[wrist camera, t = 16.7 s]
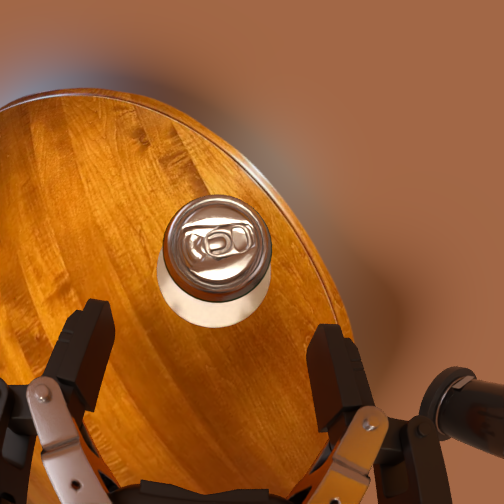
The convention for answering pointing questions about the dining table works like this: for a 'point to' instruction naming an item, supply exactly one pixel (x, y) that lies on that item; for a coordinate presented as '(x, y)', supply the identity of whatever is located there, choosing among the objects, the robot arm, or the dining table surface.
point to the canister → (206, 311)
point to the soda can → (217, 248)
